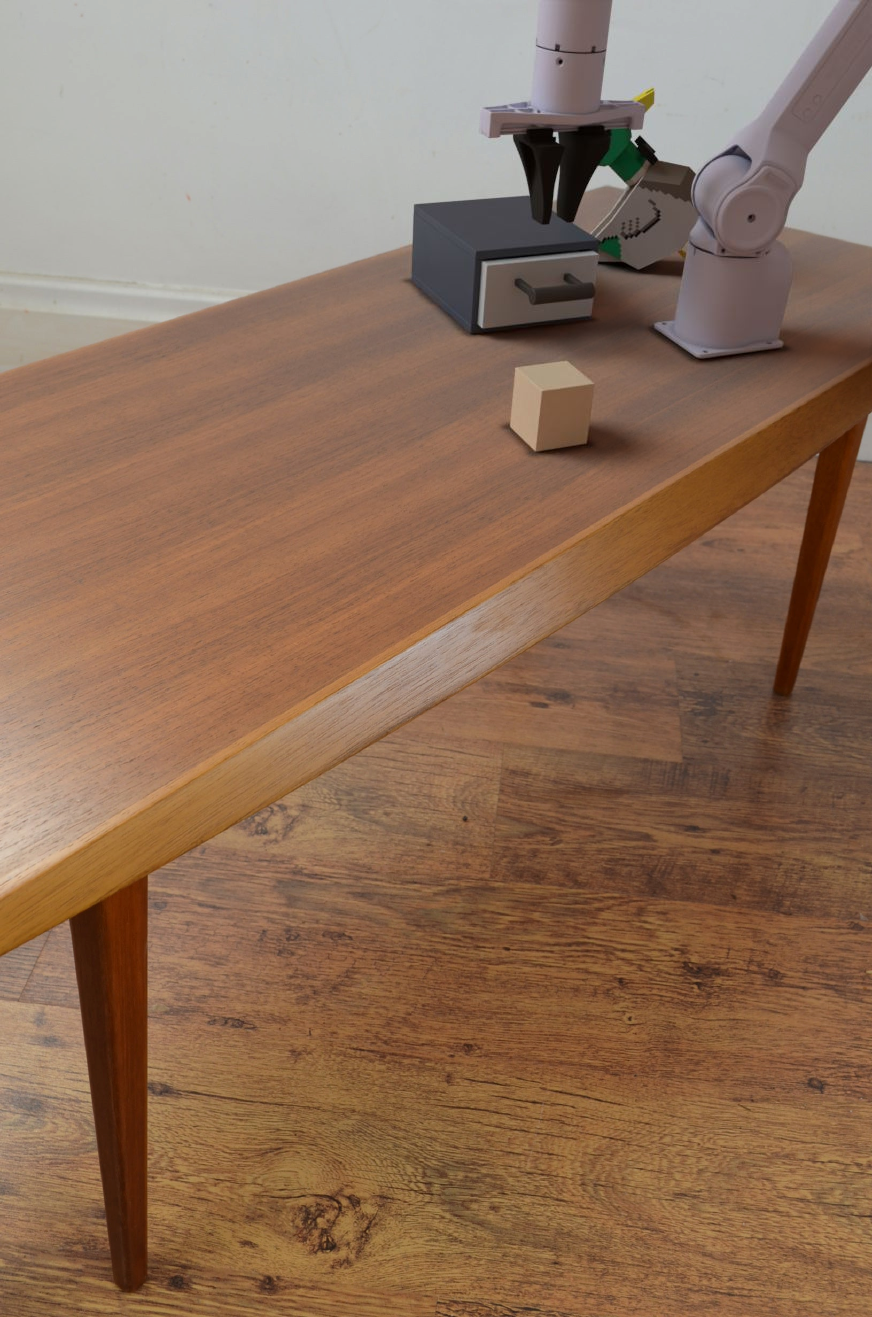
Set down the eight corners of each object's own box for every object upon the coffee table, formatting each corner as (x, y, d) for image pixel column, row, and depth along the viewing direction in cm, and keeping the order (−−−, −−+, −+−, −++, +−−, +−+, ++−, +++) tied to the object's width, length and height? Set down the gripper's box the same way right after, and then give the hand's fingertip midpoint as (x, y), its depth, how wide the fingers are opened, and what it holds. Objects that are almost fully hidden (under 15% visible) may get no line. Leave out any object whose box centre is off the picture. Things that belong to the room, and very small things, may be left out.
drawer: (615, 333, 106) (624, 270, 102) (503, 347, 102) (509, 282, 98) (527, 268, 119) (532, 211, 115) (425, 279, 115) (428, 219, 111)
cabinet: (589, 319, 110) (599, 239, 106) (470, 334, 106) (475, 251, 102) (521, 269, 121) (528, 194, 116) (411, 281, 117) (413, 203, 112)
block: (559, 419, 93) (566, 360, 90) (586, 443, 90) (595, 383, 87) (509, 426, 91) (515, 367, 88) (535, 451, 88) (542, 390, 85)
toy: (770, 214, 117) (632, 67, 111) (647, 335, 124) (513, 203, 119) (761, 202, 122) (630, 61, 116) (644, 318, 130) (515, 191, 124)
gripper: (623, 35, 98) (602, 201, 106) (468, 39, 93) (458, 212, 101) (668, 51, 93) (642, 224, 101) (506, 56, 88) (493, 237, 96)
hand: (552, 220), depth 101 cm, fingers closed
